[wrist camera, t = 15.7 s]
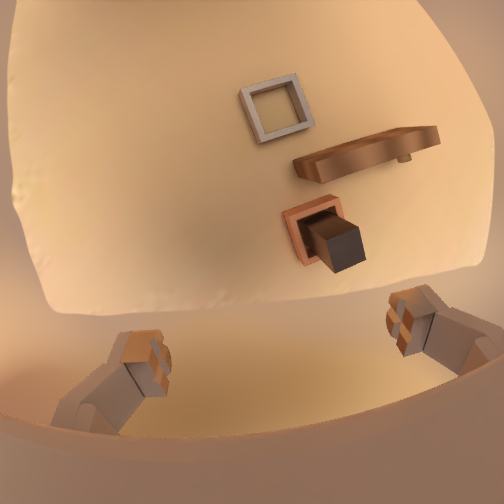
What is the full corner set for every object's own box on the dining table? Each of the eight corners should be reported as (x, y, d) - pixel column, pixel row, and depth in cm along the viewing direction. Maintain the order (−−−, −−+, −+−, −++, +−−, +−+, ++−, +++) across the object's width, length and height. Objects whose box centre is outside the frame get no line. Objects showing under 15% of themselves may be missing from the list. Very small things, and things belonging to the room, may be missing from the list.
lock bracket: (298, 258, 42) (304, 266, 39) (282, 212, 40) (288, 216, 37) (342, 240, 42) (351, 246, 40) (330, 194, 40) (338, 197, 37)
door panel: (302, 188, 39) (326, 197, 31) (292, 160, 38) (315, 162, 29) (405, 152, 39) (443, 155, 31) (398, 127, 38) (436, 125, 29)
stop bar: (305, 244, 42) (334, 273, 31) (296, 218, 40) (325, 240, 30) (330, 234, 42) (366, 259, 31) (322, 208, 40) (358, 227, 30)
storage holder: (257, 143, 37) (261, 142, 34) (238, 93, 34) (240, 88, 31) (308, 127, 37) (315, 125, 34) (289, 78, 34) (295, 73, 31)
